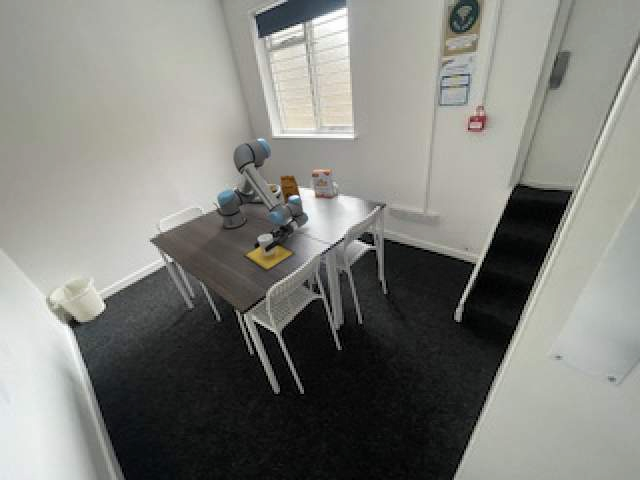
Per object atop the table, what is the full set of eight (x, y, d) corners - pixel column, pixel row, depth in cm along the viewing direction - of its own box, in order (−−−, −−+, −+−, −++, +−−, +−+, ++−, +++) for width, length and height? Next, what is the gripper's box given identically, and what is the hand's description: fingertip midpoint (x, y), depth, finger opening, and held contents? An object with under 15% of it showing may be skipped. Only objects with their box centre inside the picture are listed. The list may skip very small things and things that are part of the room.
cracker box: (315, 197, 205) (311, 171, 194) (318, 194, 210) (314, 169, 199) (331, 198, 200) (328, 171, 189) (334, 195, 205) (331, 169, 194)
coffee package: (297, 205, 197) (292, 177, 185) (283, 205, 201) (277, 178, 190) (303, 200, 204) (298, 173, 193) (288, 199, 209) (283, 173, 197)
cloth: (245, 255, 148) (245, 255, 148) (270, 241, 158) (270, 240, 158) (266, 270, 134) (266, 269, 134) (293, 253, 144) (293, 252, 143)
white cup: (270, 258, 140) (265, 242, 134) (259, 255, 144) (254, 239, 138) (279, 250, 145) (275, 235, 140) (268, 247, 149) (264, 232, 144)
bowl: (288, 193, 222) (286, 184, 217) (260, 207, 205) (257, 197, 201) (267, 187, 241) (265, 179, 236) (240, 199, 224) (237, 191, 220)
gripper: (302, 237, 149) (275, 259, 135) (277, 230, 161) (249, 249, 146) (300, 225, 145) (272, 247, 131) (274, 219, 157) (245, 238, 142)
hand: (260, 248), depth 138 cm, fingers closed on white cup, 8 cm apart
